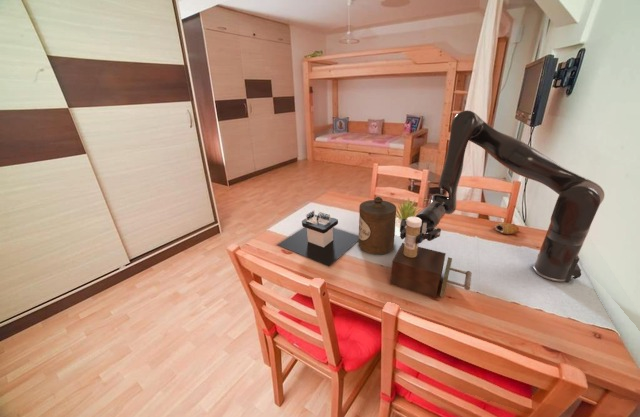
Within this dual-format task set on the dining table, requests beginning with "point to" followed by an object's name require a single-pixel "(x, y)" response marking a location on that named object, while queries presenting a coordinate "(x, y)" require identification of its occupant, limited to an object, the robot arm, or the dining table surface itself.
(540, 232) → the dining table surface
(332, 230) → the capped box on tray
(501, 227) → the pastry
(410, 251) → the sprinkles bottle
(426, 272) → the cabinet
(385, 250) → the wooden container
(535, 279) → the dining table surface
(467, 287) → the drawer
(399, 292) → the dining table surface
